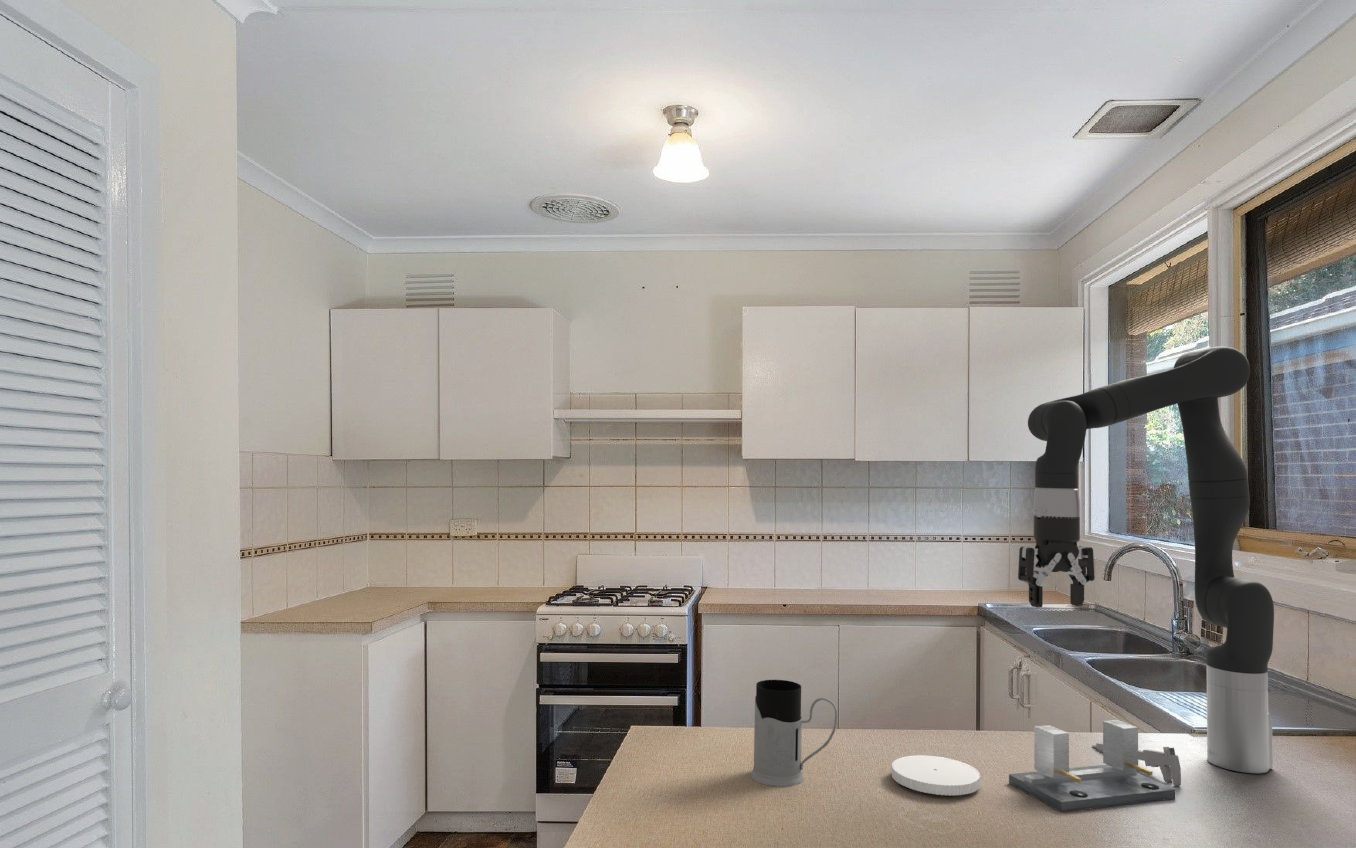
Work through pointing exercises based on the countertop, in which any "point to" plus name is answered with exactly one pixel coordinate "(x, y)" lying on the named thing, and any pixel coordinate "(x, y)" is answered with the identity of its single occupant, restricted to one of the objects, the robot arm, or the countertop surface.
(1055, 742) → the leg
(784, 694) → the glass holder
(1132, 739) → the fixed leg
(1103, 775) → the hole plate
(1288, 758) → the countertop surface
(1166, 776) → the caliper
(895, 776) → the plastic lid
